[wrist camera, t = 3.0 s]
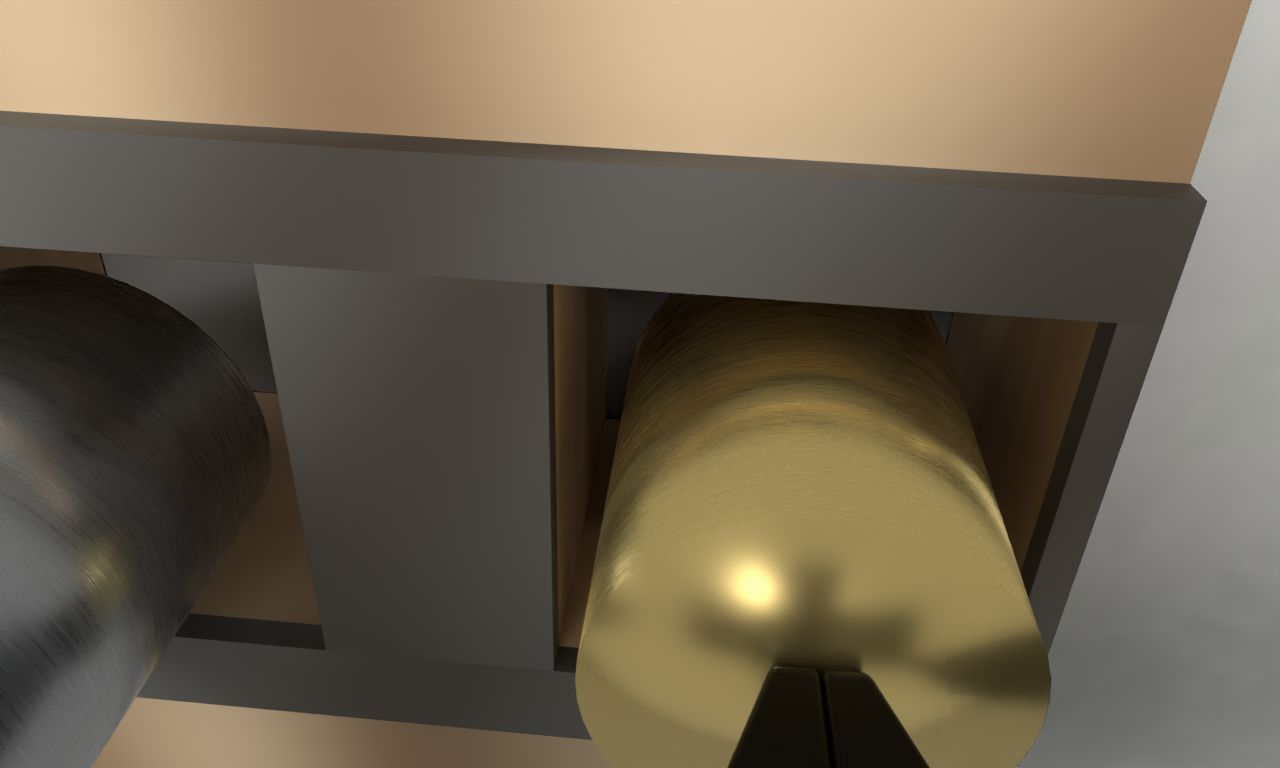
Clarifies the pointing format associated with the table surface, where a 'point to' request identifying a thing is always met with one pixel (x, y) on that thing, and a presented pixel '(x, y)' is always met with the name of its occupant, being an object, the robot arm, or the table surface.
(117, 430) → the steel plunger
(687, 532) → the brass plunger
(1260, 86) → the table surface
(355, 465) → the socket board
